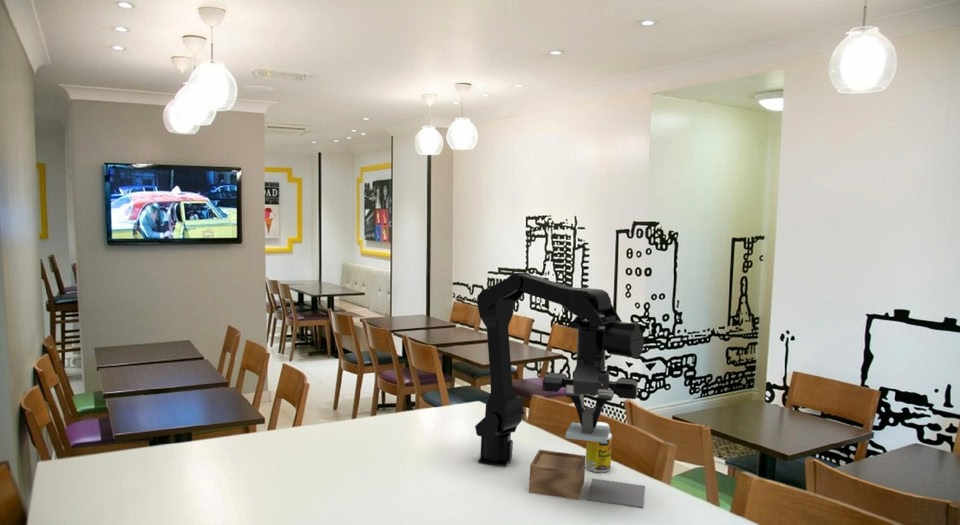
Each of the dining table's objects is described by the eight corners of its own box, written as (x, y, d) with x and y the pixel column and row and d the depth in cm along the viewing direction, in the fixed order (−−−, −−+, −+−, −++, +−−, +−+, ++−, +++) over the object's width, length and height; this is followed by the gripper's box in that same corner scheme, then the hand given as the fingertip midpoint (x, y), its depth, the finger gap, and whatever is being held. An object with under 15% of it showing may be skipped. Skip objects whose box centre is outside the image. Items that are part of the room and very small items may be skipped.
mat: (586, 499, 130) (586, 498, 130) (592, 479, 141) (592, 478, 141) (643, 508, 127) (643, 506, 127) (644, 487, 138) (644, 485, 138)
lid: (565, 438, 132) (566, 413, 132) (571, 427, 139) (572, 403, 139) (605, 442, 129) (606, 417, 129) (609, 431, 137) (610, 407, 137)
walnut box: (528, 492, 133) (530, 465, 133) (538, 474, 143) (539, 449, 142) (578, 499, 130) (579, 472, 130) (584, 481, 140) (585, 455, 140)
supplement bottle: (597, 475, 144) (599, 429, 143) (580, 466, 148) (582, 422, 148) (615, 470, 147) (617, 425, 146) (598, 462, 151) (600, 419, 151)
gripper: (538, 354, 129) (535, 433, 129) (635, 362, 123) (632, 444, 124) (548, 345, 139) (546, 418, 140) (638, 352, 134) (636, 427, 135)
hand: (588, 427), depth 134 cm, fingers closed on lid
